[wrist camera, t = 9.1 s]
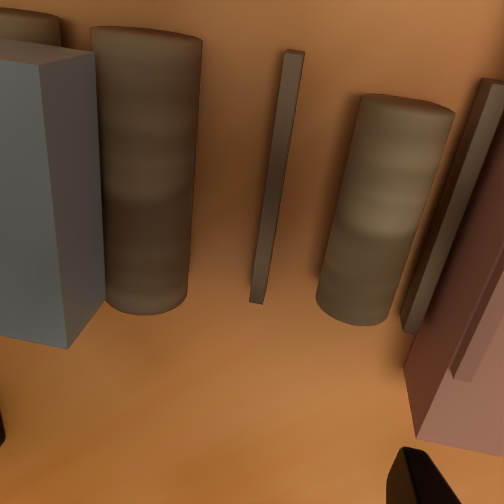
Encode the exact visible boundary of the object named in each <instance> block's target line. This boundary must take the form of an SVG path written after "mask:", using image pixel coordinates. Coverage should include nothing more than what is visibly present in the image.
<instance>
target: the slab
mask: <svg viewBox="0 0 504 504" xmlns="http://www.w3.org/2000/svg"><path fill="white" fill-rule="evenodd" d="M105 299H106V290H105V268H104V246H103V224H102V202H101V180H100V159H99V137H98V115H97V93H96V71H95V52H90V51H83V50H77V49H70V48H64V47H57V46H51V45H44V44H38V43H31V42H25V41H18V40H12V39H5V38H0V335H1V336H6V337H11V338H15V339H20V340H25V341H30V342H35V343H40V344H44V345H49V346H54V347H59V348H64V349H68V348H69V347H70V346H71V344H72V343H73V342H74V340H75V339H76V338H77V336H78V335H79V334H80V332H81V331H82V330H83V328H84V327H85V326H86V324H87V323H88V322H89V321H90V319H91V318H92V317H93V315H94V314H95V313H96V311H97V310H98V309H99V307H100V306H101V305H102V303H103V302H104V301H105Z"/></svg>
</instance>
